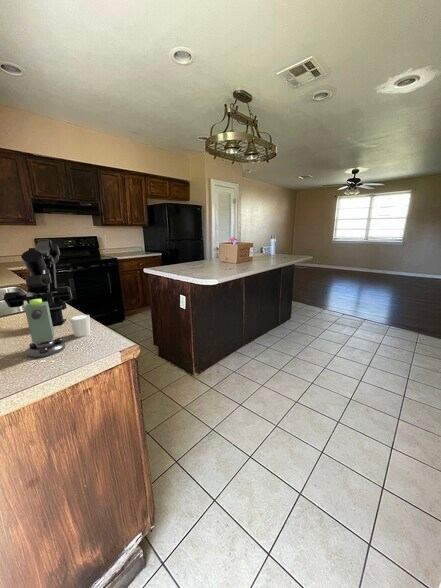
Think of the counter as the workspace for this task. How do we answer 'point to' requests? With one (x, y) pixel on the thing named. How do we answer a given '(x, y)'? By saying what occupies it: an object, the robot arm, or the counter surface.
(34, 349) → the base
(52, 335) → the dome-topped green pillar
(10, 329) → the counter surface
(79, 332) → the white cup
